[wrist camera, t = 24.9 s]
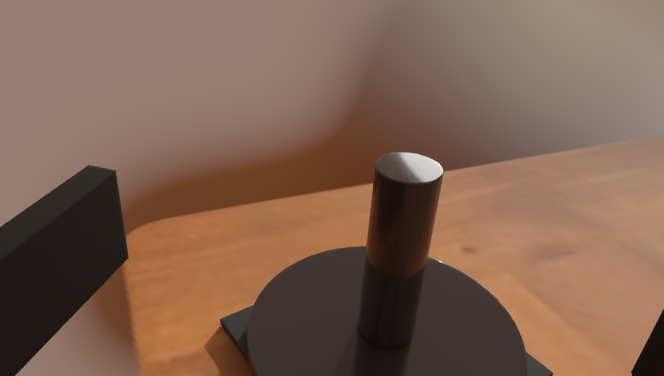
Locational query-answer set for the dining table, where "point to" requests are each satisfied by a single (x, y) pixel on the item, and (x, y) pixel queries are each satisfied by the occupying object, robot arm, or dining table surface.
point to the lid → (384, 299)
